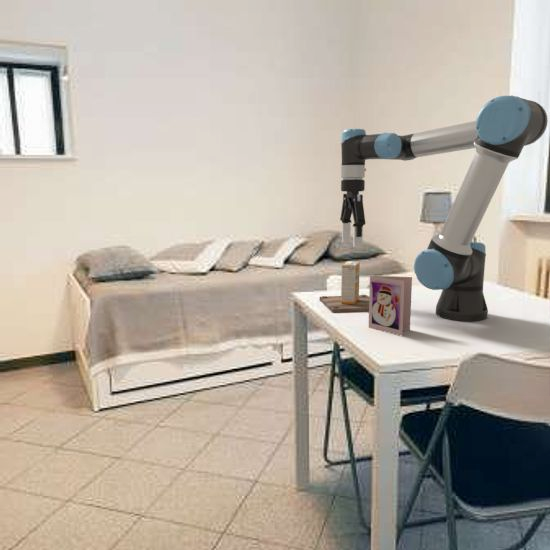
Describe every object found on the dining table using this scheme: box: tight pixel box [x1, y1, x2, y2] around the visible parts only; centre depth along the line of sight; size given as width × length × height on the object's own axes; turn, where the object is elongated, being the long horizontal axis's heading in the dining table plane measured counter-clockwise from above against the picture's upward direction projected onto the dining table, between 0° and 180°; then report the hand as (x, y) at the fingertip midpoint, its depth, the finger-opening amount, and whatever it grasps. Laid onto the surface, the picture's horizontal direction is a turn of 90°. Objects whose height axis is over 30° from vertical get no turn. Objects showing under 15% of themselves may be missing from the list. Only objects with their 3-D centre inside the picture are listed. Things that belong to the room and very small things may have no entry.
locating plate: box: [319, 294, 369, 313], centre depth 177 cm, size 18×17×2 cm
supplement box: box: [340, 261, 361, 304], centre depth 176 cm, size 8×5×13 cm, turn 161°
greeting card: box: [368, 275, 413, 336], centre depth 147 cm, size 11×7×15 cm, turn 42°
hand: (351, 244), depth 174 cm, fingers open, 13 cm apart
